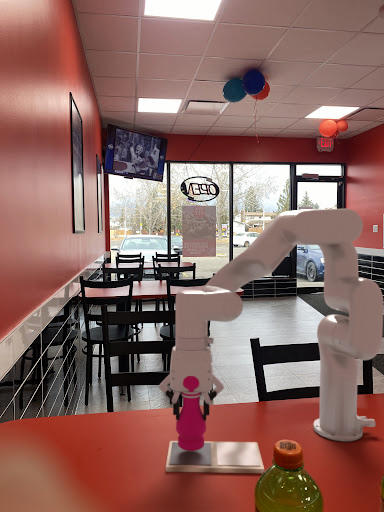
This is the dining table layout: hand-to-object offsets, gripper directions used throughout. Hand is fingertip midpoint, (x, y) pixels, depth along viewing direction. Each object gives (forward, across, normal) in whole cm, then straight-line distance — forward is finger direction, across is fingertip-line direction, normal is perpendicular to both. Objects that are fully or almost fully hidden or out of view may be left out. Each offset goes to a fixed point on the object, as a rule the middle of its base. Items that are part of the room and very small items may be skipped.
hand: (191, 417), depth 98 cm
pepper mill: (+7, 0, 0) cm, 7 cm away
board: (+10, -5, 0) cm, 11 cm away
